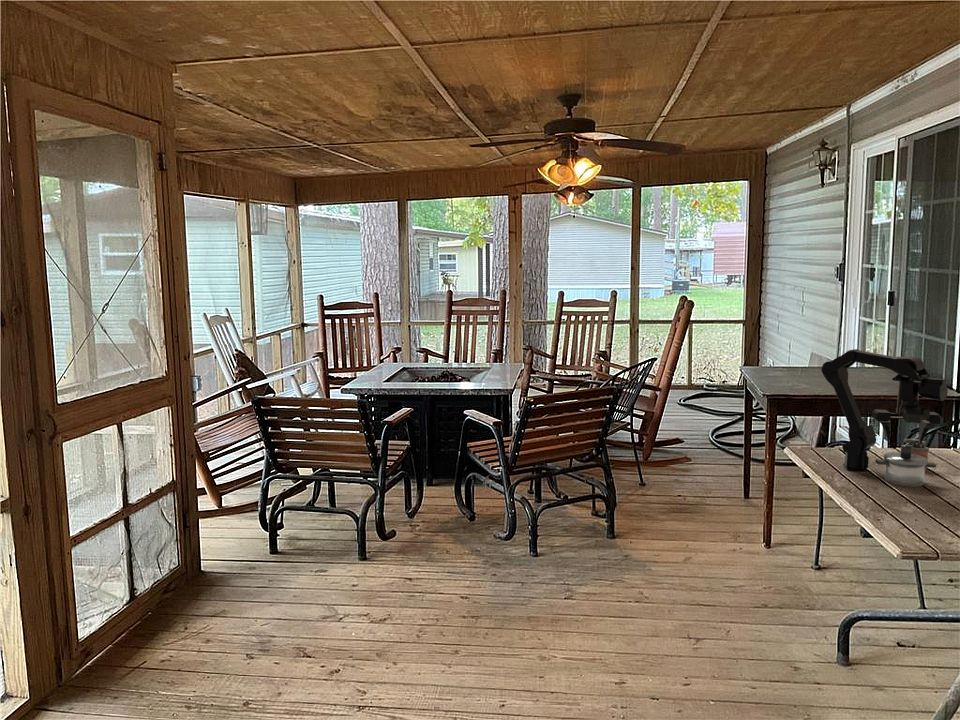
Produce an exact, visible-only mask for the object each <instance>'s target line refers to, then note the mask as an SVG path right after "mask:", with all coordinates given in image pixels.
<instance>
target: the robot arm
mask: <svg viewBox="0 0 960 720" xmlns="http://www.w3.org/2000/svg"><path fill="white" fill-rule="evenodd" d="M855 363H859V364H864V365H871V366H876V367H879V368H885V369H888V370H891V372H894V373H896V376H893V377H892V378H891V380H892V381H894V382H898V393H897V396H896V400H897V401H896V402H897V403H896V408H895V412H890V411H888V410H887V409H877V408H876V409H874V410H873V411H872V415H871V417H872V418H873V420H875V421H877V422H879V424H881V426H882V429H883V431H884V434H885V437H886V441H887V442H890V441H891V424H892V422H891V421H890V420H891V419H894V420H904V422H905V423H908V424H910V423H916V424H919V430H918V440H919V443H921V442H922V441H924V439H925V436H926V435H927V432H929V430H930V429H931V428H933V427H936V426H937V425H942V420H943V419H942V416H941V415H940V414H939V413H937V412H935V411H931V409H930V408H929V407H920V400H919V396H920V397H921V398H922V399H928V400H934V401H935V400H936V401H941V402H943V401H945V400H946V398H947V395H948V392H949V389H948V385H947V382H946V379H944V378H934V377H931V375H930V373H929V372H928V370H927V369H926V368H925V363H924V361H923V359H922V358H920V357H919V356H890V355H887V354H886V355H885V354H883V353H881V354H880V353H876V352H870V351H864V350H860V349H858V348H854V349H850V350H847V351H846V352H845V353H843V354H841V355H839V356H838V357H836V358H834V359H832V360H830V361H826V362H824V363H823V364H822V366H821V368H820V371H821V373H822V375H823V377H824V378H825V380H826V381H827V383H829V385H830V386H832V388H833V389H834V392H835V394H836V396H837V399H838V402H839V405H840V406H841V409H842V413H843V414H844V416H845V420H846V421H847V425H848V438H849V440H848V442H846V443H844V444H843V445H842V451H843V453H845V454H844V455H845V456H844V463H843V464H842V466H843V467H844V468H845V469H846V471H851V472H852V471H853V472H854V471H856V472H868V471H869V470H868V469H869V462H870V461H869V460H870V458H869V456H868V451H870V449H871V447H874V446H875V444H876V443H877V436H878V435H877V434H876V432H875V430H874V429H875V428H874V426H873V424H869V425H868V424H867V423H866V422H865V421H864V420H863V417H862V414H861V412H860V409H859V406H858V404H857V402H856V400H855V397H854V395H853V392H852V390H851V387H850V385H849V372H848V371H849V370H848V369H849V368H850V367H852V366H853V365H854V364H855Z"/></svg>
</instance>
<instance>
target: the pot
mask: <svg viewBox="0 0 960 720" xmlns="http://www.w3.org/2000/svg"><path fill="white" fill-rule="evenodd" d="M875 463H876V464H877V465H884V466H885V470H884V480H885V482H888V483H891V484H894V485H898V486H903V487H911V488H912V487H921V486H923V485H924V484H925V473H926V470H925V467H927V468H932V469H934V468H937V464H936V463H935V462H932V461H931V462H929V461H928V464H927V465H925V466H905V465H899V464H894V463H891V462H888V461H886V460H885V459H878V458H877V459H876V458H875Z"/></svg>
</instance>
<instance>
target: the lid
mask: <svg viewBox="0 0 960 720" xmlns="http://www.w3.org/2000/svg"><path fill="white" fill-rule="evenodd" d="M911 445H912V444H911ZM911 445H908V444H901V446H900V451H899V452H898V451H893V452H886V453H884V454H883V460H886V461H888V462H891V463H894V464H899V465H905V466H925V465H927V464H928V462H929V459H927V458H925V457H922V456H919V455H915V454H911V453H912V446H911Z"/></svg>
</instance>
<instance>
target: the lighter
mask: <svg viewBox="0 0 960 720" xmlns="http://www.w3.org/2000/svg"><path fill="white" fill-rule="evenodd" d="M904 443H905V444H907V445H911V446H912V453H911V454H915V455H919V456H922V457H925V458H927V459H928V458H929V451H930V448H929V447H927V446H926V441H924V440H923V441H922V442H921V443H919V438H916V439H913V438H912V439H911V438H905V439H904ZM928 460H929V459H928ZM926 470H928V467H925V471H926Z"/></svg>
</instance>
